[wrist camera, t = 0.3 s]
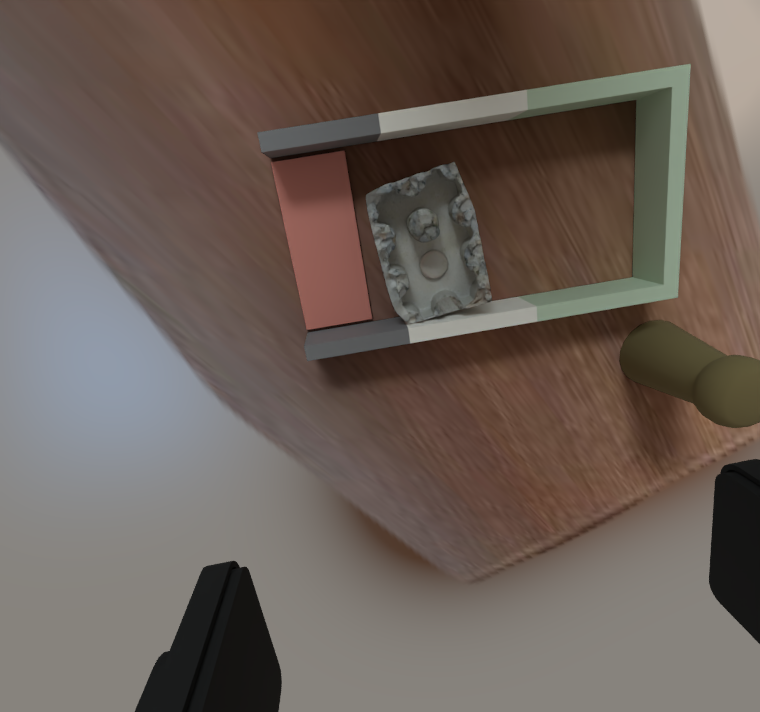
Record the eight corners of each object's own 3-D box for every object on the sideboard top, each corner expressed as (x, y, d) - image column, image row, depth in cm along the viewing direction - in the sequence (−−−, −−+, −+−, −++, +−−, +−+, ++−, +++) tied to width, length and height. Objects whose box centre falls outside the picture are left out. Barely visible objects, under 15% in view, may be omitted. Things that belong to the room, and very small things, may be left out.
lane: (267, 140, 34) (257, 132, 30) (652, 79, 34) (690, 63, 31) (310, 345, 39) (307, 361, 35) (645, 288, 40) (677, 297, 36)
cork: (693, 361, 42) (808, 412, 32) (633, 395, 43) (728, 456, 32) (670, 306, 40) (785, 342, 30) (609, 343, 41) (700, 390, 30)
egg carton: (485, 295, 38) (497, 308, 34) (396, 318, 38) (399, 333, 35) (458, 159, 34) (469, 156, 30) (361, 188, 35) (360, 188, 31)
